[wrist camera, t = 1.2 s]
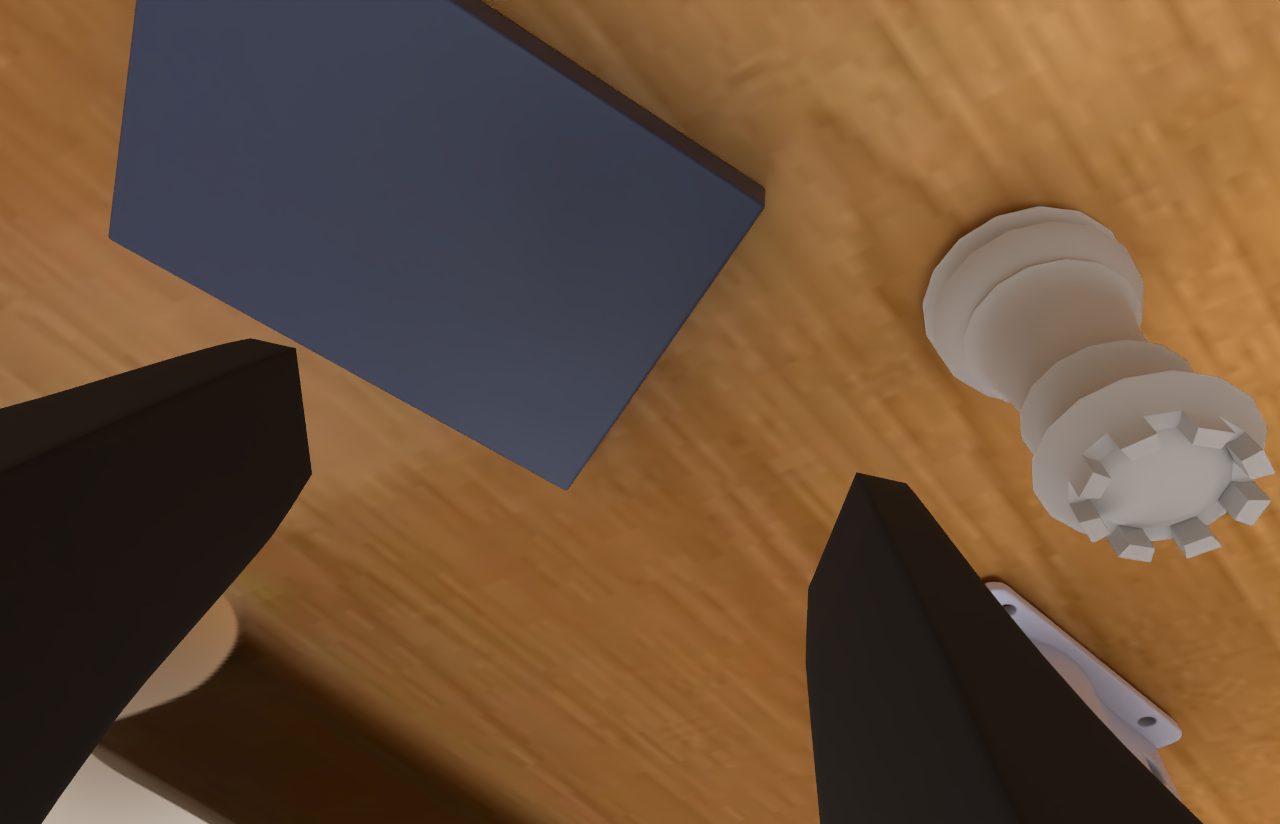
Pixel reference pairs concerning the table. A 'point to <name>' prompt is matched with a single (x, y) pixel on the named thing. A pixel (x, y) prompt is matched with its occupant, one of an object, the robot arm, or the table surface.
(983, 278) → the rook chess piece
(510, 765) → the table surface
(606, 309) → the notebook
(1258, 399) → the table surface
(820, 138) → the table surface
